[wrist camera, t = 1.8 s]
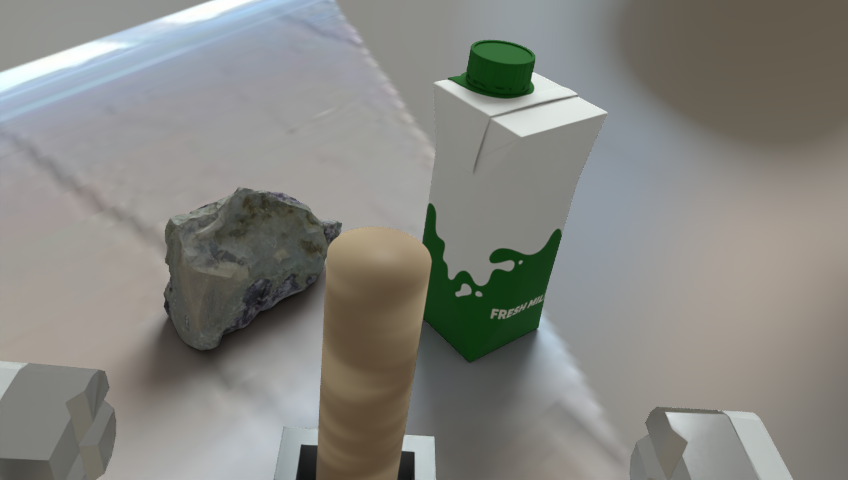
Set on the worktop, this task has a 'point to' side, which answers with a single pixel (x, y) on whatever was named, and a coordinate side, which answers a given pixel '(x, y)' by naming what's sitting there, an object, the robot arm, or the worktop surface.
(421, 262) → the dowel
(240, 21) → the worktop surface
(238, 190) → the mineral rock
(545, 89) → the milk carton
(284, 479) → the open box
